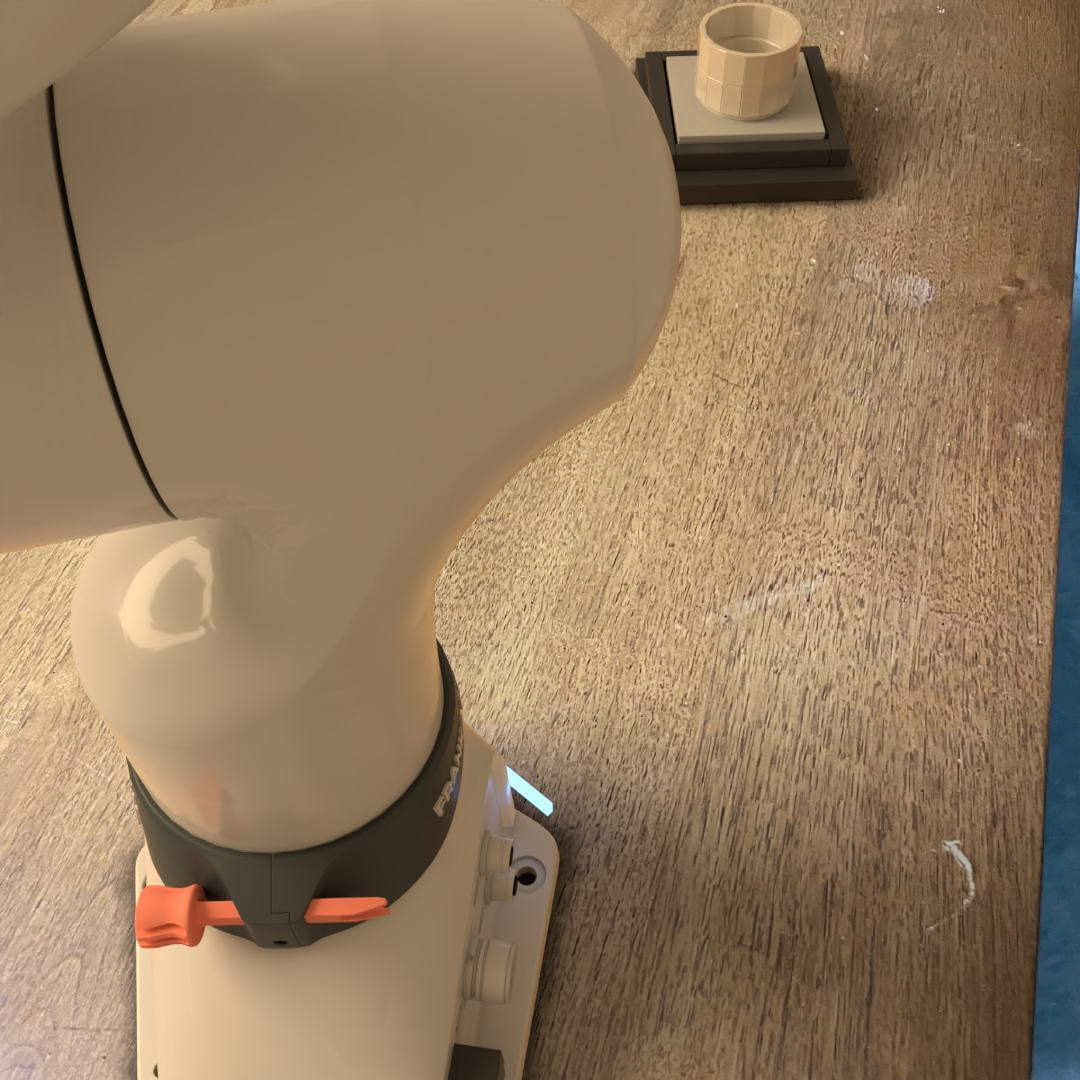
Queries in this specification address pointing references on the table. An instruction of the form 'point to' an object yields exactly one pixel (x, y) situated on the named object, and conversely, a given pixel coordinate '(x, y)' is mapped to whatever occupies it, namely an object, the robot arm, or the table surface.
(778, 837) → the table surface
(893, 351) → the table surface
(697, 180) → the scale
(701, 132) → the platform
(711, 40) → the bowl
